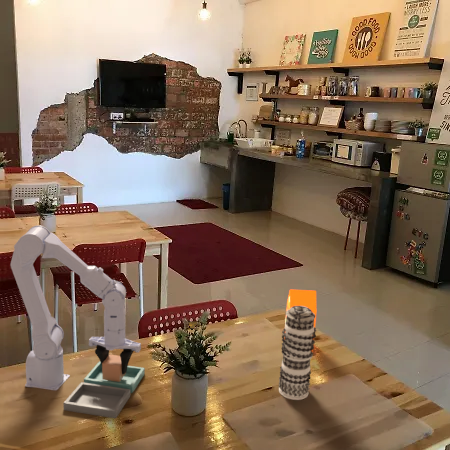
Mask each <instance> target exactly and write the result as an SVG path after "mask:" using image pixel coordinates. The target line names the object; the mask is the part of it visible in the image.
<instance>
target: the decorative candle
mask: <svg viewBox="0 0 450 450" xmlns="http://www.w3.org/2000/svg"><path fill="white" fill-rule="evenodd" d="M286 310H287V309H286ZM286 310H285V320H286V322H284V328H283V330H282V332H281V334H282V335H281V341H282V342H281V345H282V346H281V354H282V361H281V366H280V367H279V369H280V372H279V379H278V380H279V382H278V392H279V394H280V395H281V396H282V397H284V398H285V399H288V400H294V401H301V400H303V399H306V398H308V396H309V391H310V385H311V383H310V380H311V374H312V372H311V359H312V358H313V355H314V353H313V352H312V350H313V351H314V349H315V347H314V344H315V343H316V342H315V338H316V337H317V335H316V333H317V328H316V326H315V327H314V318H315V317H316V318H317V315H316V316H315V314H314V313H313V312H312V311H311V309H309V308H308V307H305V306H293V307H291V308H290V309H289V310H287V311H286ZM286 315H287V317H286ZM285 332H286V333H285ZM312 335H313V336H312ZM284 338H285V339H284Z"/></svg>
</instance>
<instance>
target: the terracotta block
mask: <svg viewBox="0 0 450 450" xmlns="http://www.w3.org/2000/svg"><path fill="white" fill-rule="evenodd" d="M125 374H126V373H125ZM125 374H122V363H121V357H120V355H116V354H110V353H109V356H108V357H107V358H106V359H105V361H104V362H103V363H102V376H103V380H110V381H116V382H120V381H121V379H122V378H123V376H124V375H125Z"/></svg>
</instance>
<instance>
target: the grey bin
mask: <svg viewBox="0 0 450 450" xmlns="http://www.w3.org/2000/svg"><path fill="white" fill-rule="evenodd" d="M130 398H131V393H130V389H124V388H117V387H110V386H104V385H97V384H91V383H84V381H83V382H82V381H81V382H80V383H79V384H78V385H77V386H76V388H75V389H74V390H73V391H72V392H71V393H70V394H69V396H68V397H67V398H66V400H64V402H63V411H67V412H71V413H72V412H73V413H78V414H79V413H80V414H86V415H92V416H96V417H98V416H99V417H104V418H111V419H117V418H118V416H119V415H120V413H121V411H122V410H123V408H124V407H125V405H127V402H128V401H129V399H130Z"/></svg>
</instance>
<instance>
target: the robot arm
mask: <svg viewBox="0 0 450 450" xmlns="http://www.w3.org/2000/svg"><path fill="white" fill-rule="evenodd" d="M13 248H14V249H13V253H12V257H11V261H10V269H11V271H12V274H13V276H14V279H15V281H16V284H17V288H18V289H19V293H20V296H21V298H22V302H23V304H24V306H25V308H26V309H25V310H26V312H27V315H28V317H29V320H30V323H31V326H32V328H31V329H32V330H31V331H32V332H31V338H32V342H33V346H32V350H30V352H29V353H28V355H27V356H26V361H25V377H26V378H25V379H26V383H25V384H24V387H27V388H38V389H42V390H43V389H45V390H49V391H50V390H51V391H58V390H59V389H60V387H62V385H63V384H64V383H65V382H66V381H67V380H68V379H69V378H70V376H71V375H70V374H65V370H64V349H63V347H62V345H61V343H62V341H63V339H64V335H65V333H64V329H63V327H61V326H60V325H59V323H58V322H57V320H56V318H55V317H54V316H52V314H51V312H50V309H49V306H48V303H47V300H46V298H45V295H44V292H43V290H42V289H43V288H42V286H41V284H40V283H41V282H40V281H39V278H38V275H37V272H36V270H35V267H34V263H35V261H36V260H37V258H38V257H39V256H40V255H41V254H42V257H41V259H56V260H58V261H59V262H60V263H61V264H63V265H64V266H65V267H67V268H68V269H69V270H71V271H72V272H74V273H75V274H76V275H78V276H79V278H80V283H81V284H82V285H83V286H85V288H87V289H88V290H90V291H91V293H93V294H94V295H95V296H97V297H98V298H100V299H102V300H101V302H102V305H103V307H104V312H103V334H104V335H103V336H91V337H90V338H89V339H88V346H89V347H94V346H96V349H95V350H94V354H95V355H96V356H97V358H98V359H99V362H101V364H102V363H103V362H104V361H105V359H106V358H107V357H108V356H109V354H110V351H114V350H122V351H121V352H120V353H119V356H120V357H121V363H122V374H125V373H126V371H127V366H129V362H130V359H131V357H132V355H133V353H134V352H135V353H140V351H141V349H142V344H141V342H136V341H133V340H131V339H128V338H126V310H125V309H126V305H125V302H126V295H127V289H126V287H125V286H124V285H123V282H121V281H118V280H115V279H112V278H111V277H109V275H108V274H106V273H104V269H103V268H102V267H97V266H96V265H88V264H87V263H86V262H84V260H82V259H81V258H80V257H79V256H78V255H77V254H76V253H75V252H74V251H73V250H72V249H71V248H69V247H68V246H67V245H66V244H65V243H64V242H62V241H61V239H60V238H59V237H58V236H57V235H56V234H55V233H53V232H52V231H50V230H49V229H48V228H47V227H45V226H44V225H34V226H31V228H29V229H28V230H27V232H26V233H24V234H23V235H22V236H20V238H19V239H18V240H17V241H16V242H15V244H14V245H13Z"/></svg>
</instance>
